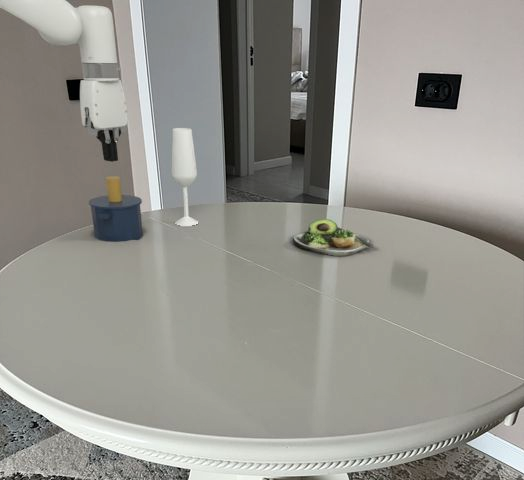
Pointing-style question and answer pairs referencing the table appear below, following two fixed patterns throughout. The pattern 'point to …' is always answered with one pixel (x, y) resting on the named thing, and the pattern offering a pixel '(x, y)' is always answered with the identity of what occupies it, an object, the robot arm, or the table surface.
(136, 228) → the pot
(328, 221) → the salad plate
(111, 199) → the lid
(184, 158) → the champagne flute
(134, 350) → the table surface
